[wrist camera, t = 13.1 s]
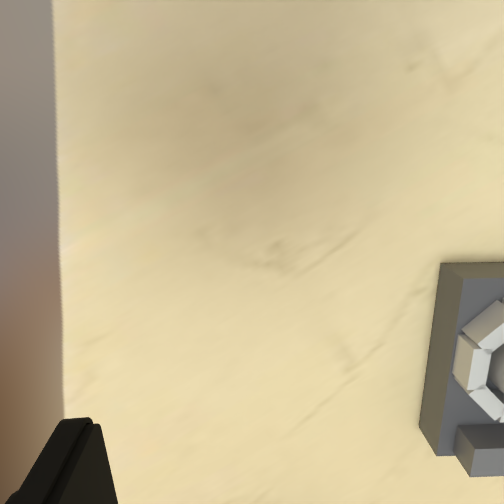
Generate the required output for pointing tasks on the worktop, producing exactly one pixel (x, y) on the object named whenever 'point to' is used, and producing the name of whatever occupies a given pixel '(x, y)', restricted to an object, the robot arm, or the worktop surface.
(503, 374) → the beverage can
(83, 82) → the worktop surface
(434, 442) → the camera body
